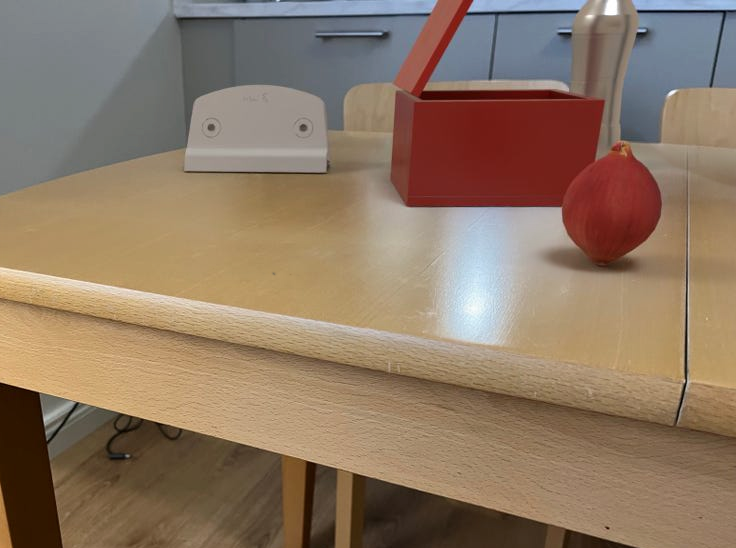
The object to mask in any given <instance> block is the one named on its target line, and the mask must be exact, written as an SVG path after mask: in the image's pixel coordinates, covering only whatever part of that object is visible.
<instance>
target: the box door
mask: <svg viewBox="0 0 736 548" xmlns="http://www.w3.org/2000/svg"><path fill="white" fill-rule="evenodd" d="M473 3H474V0H437V1H436V3H435V5H434V7H433V8H432V10H431V12H430V14H429V16H428V18H427V19H426V22H425V24H424V25H423V27H422V29H421V30H420V32H419V34H418V36H417V38H416V39H415V41H414V44H413V45H412V47H411V49H410V51H409V52H408V55H407V57H406V58H405V60H404V61H403V63H402V65H401V67H400V69H399V71H398V73H397V74H396V76H395V79H394V80H393V82H392V85H394V86H396V87H397V88H399V89H400V90H405V91H407V92H409V93H410V94H412V95H414V96H416V97H418V98H419V96H420V95H421V93H422V91H423V90H425V87H426V86H427V84H428V82H429V80H430V79H431V77H432V75H433V73H434V72H435V70H436V68H437V66H438V65H439V63H440V61H441V59H442V57H443V55H444V54H445V52H446V50H447V48H448V47H449V45H450V44H451V42H452V40H453V38H454V36H455V34H456V33H457V31H458V29H459V28H460V25H461V24H462V22H463V20H464V18H465V16H466V15H467V13H468V11H469V9H470V8H471V6H472V4H473Z"/></svg>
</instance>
